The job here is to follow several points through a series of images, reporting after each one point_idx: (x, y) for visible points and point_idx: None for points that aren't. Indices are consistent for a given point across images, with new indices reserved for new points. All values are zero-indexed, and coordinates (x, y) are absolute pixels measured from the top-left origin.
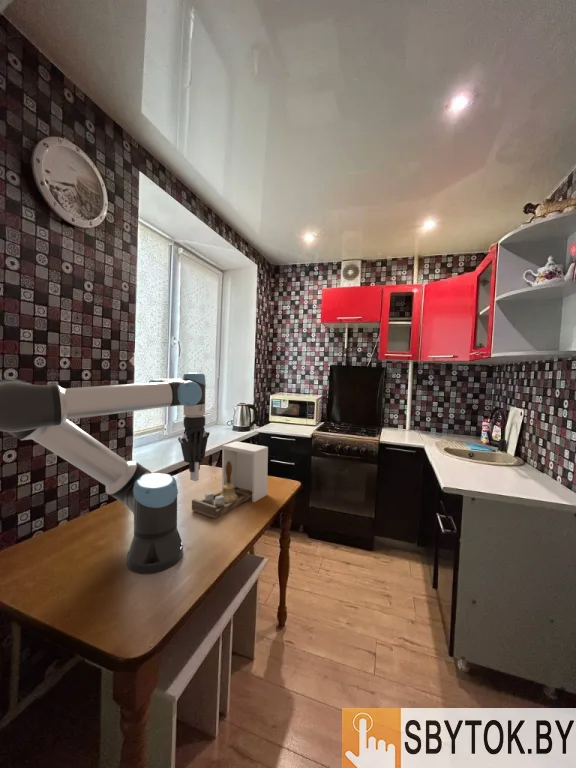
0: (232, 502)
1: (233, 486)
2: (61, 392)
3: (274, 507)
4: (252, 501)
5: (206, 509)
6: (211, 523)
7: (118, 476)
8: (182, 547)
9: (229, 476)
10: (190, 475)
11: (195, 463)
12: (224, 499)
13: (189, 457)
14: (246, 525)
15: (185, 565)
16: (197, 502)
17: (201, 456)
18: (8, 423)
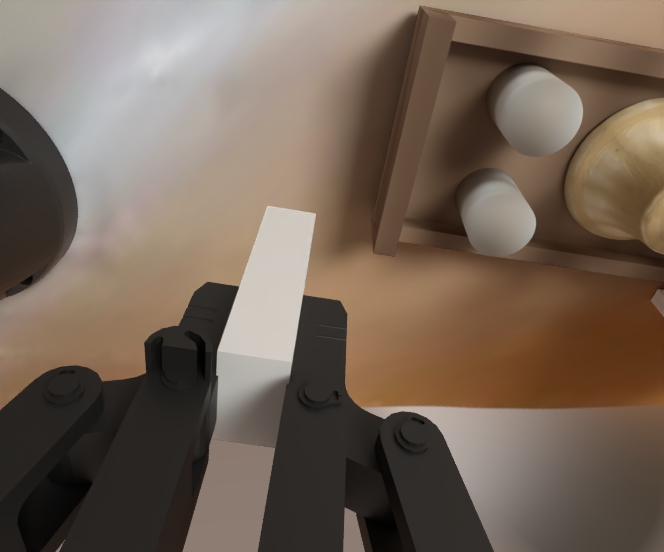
0: (542, 259)
1: None
2: None
3: (599, 399)
4: (657, 292)
5: (388, 172)
6: (329, 223)
7: None
8: (30, 286)
9: None
10: (259, 231)
11: (215, 436)
12: (584, 187)
13: (25, 543)
14: (381, 364)
15: (21, 311)
16: (412, 88)
17: (361, 516)
18: None
